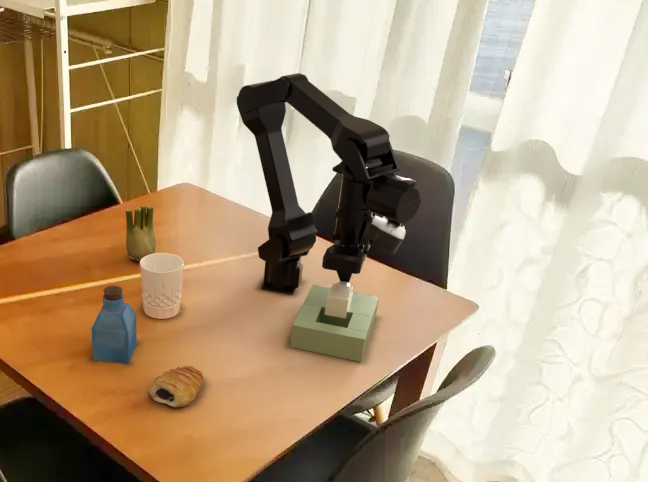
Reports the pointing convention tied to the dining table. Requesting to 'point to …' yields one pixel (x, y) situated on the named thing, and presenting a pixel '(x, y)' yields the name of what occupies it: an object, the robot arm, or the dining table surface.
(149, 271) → the white cup
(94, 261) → the dining table surface
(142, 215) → the fennel bulb
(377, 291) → the dining table surface
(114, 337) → the perfume bottle
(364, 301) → the stand
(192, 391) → the pastry
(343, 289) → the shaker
